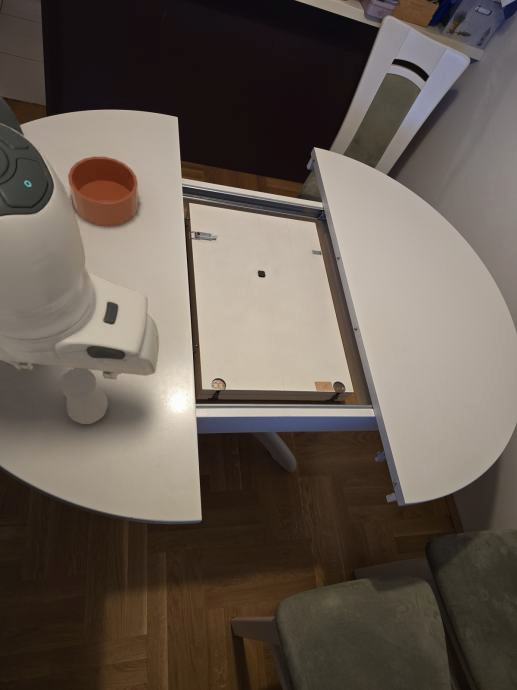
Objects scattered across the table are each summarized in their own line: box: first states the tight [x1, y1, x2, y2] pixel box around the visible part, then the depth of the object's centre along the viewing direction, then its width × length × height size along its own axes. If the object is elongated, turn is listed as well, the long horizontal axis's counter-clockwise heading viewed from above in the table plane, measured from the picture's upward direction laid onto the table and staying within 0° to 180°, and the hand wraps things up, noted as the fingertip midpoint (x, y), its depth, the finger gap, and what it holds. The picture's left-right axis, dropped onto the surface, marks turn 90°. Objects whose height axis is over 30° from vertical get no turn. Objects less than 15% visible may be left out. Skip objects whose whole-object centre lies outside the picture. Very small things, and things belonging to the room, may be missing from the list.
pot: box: [67, 156, 139, 227], centre depth 77 cm, size 12×12×6 cm
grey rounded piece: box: [60, 368, 109, 425], centre depth 56 cm, size 6×6×13 cm
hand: (70, 368), depth 46 cm, fingers open, 8 cm apart
